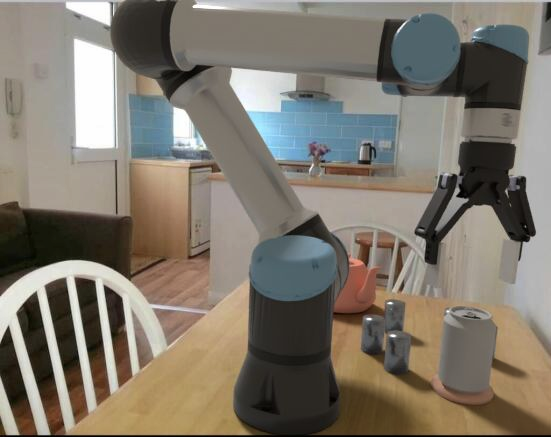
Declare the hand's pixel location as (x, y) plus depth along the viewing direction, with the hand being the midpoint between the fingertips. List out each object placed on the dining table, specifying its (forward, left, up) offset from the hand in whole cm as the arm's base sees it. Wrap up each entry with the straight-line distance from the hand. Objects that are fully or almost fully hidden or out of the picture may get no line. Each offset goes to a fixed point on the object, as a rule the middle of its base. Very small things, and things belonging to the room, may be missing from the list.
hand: (470, 283), depth 75 cm
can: (0, 0, -16) cm, 16 cm away
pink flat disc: (0, 0, -17) cm, 17 cm away
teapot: (0, +40, -17) cm, 43 cm away
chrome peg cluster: (+3, +16, -17) cm, 24 cm away
